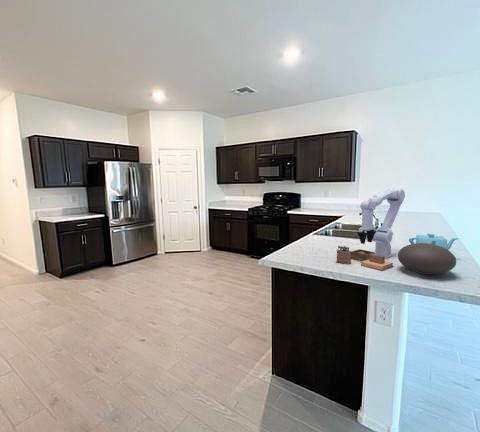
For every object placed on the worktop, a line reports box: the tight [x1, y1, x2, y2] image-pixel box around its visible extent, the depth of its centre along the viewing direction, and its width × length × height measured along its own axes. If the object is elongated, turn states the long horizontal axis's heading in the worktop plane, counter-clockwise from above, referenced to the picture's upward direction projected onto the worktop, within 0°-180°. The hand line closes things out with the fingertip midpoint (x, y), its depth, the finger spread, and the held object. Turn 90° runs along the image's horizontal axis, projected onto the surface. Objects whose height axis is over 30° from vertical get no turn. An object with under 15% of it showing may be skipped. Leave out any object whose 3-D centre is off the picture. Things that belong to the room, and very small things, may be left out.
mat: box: [360, 264, 394, 272], centre depth 148 cm, size 12×12×1 cm
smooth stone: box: [397, 242, 457, 275], centre depth 136 cm, size 25×25×15 cm
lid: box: [360, 254, 394, 271], centre depth 148 cm, size 12×12×6 cm
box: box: [350, 248, 375, 262], centre depth 162 cm, size 10×10×4 cm
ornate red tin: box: [335, 245, 352, 265], centre depth 154 cm, size 8×3×10 cm, turn 59°
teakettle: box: [408, 233, 460, 251], centre depth 162 cm, size 19×19×15 cm
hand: (366, 242), depth 160 cm, fingers open, 7 cm apart
